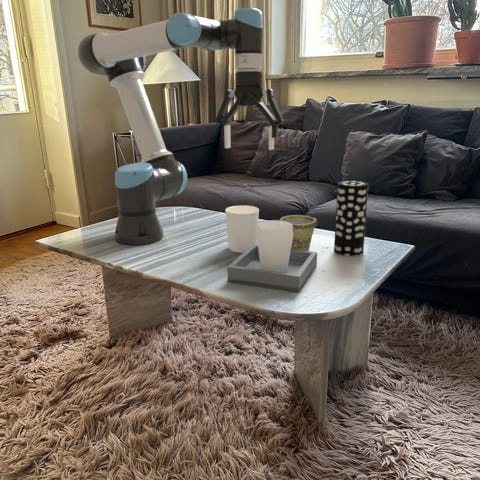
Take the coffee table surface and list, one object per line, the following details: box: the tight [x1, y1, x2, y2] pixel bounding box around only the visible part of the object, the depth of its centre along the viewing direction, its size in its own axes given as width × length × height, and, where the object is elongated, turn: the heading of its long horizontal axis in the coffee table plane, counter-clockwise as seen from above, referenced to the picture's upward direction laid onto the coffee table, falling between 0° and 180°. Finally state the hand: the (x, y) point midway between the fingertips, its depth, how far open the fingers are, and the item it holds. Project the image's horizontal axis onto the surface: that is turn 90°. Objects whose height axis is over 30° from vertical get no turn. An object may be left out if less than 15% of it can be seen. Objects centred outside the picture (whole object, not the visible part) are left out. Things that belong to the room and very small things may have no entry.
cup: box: [257, 219, 293, 273], centre depth 114 cm, size 9×9×12 cm
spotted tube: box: [333, 180, 369, 257], centre depth 129 cm, size 8×8×20 cm
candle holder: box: [224, 205, 260, 254], centre depth 134 cm, size 10×10×12 cm
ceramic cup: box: [279, 214, 318, 251], centre depth 131 cm, size 13×10×10 cm
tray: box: [227, 244, 318, 293], centre depth 116 cm, size 18×18×4 cm
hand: (249, 148), depth 132 cm, fingers open, 13 cm apart
